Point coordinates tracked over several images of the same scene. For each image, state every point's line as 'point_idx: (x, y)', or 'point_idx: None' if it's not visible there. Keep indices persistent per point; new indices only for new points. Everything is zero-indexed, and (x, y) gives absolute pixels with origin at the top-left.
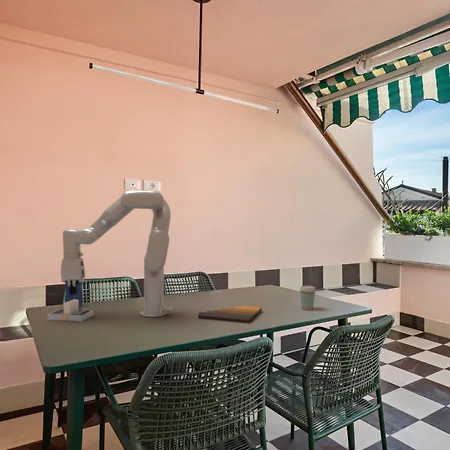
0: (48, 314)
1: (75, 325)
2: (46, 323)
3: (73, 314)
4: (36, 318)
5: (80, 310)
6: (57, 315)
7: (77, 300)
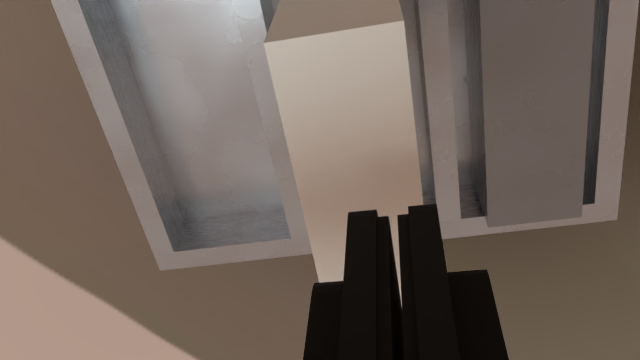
0: (173, 266)
1: (597, 310)
2: (281, 323)
3: (456, 178)
4: (22, 216)
5: (519, 106)
6: (285, 248)
7: (408, 67)
